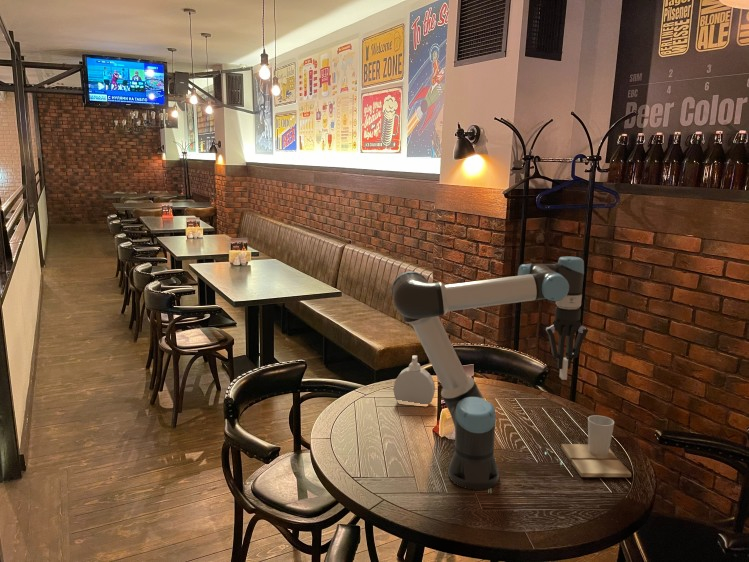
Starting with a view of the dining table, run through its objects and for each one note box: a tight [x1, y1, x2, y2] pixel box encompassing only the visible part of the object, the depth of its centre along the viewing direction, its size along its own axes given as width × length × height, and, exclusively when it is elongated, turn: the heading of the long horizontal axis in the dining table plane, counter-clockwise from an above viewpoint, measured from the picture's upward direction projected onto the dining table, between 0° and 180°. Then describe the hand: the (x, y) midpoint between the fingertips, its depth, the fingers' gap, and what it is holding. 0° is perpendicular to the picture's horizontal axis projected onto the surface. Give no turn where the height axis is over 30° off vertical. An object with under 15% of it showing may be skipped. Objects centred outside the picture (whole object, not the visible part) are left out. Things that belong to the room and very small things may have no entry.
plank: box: [570, 459, 632, 478], centre depth 173 cm, size 15×9×1 cm, turn 89°
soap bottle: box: [392, 354, 436, 406], centre depth 220 cm, size 16×5×20 cm, turn 75°
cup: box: [587, 414, 615, 457], centre depth 182 cm, size 8×8×12 cm
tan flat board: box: [561, 443, 619, 463], centre depth 183 cm, size 15×9×1 cm, turn 89°
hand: (563, 378), depth 178 cm, fingers closed
